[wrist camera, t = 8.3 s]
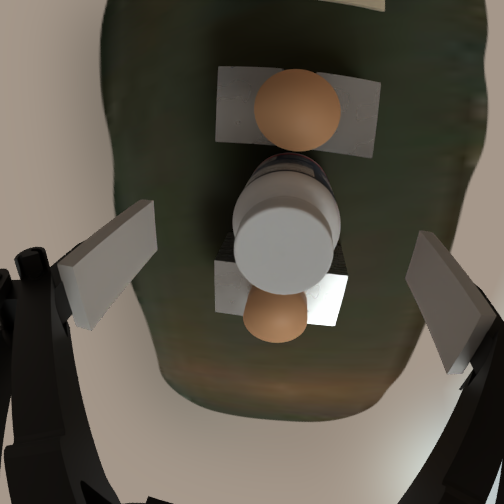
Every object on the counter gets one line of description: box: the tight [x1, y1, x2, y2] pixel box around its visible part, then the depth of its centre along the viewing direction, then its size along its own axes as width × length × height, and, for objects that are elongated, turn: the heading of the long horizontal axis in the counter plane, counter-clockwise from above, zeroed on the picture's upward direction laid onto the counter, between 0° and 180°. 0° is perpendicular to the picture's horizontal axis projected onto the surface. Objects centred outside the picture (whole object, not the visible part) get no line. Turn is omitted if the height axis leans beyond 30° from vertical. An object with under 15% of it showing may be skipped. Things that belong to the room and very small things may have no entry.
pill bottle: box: [232, 153, 341, 295], centre depth 16 cm, size 5×5×9 cm
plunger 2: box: [243, 286, 307, 343], centre depth 19 cm, size 4×4×5 cm
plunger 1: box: [254, 69, 341, 151], centre depth 14 cm, size 4×4×5 cm
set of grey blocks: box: [214, 66, 381, 326], centre depth 18 cm, size 15×8×4 cm, turn 177°
